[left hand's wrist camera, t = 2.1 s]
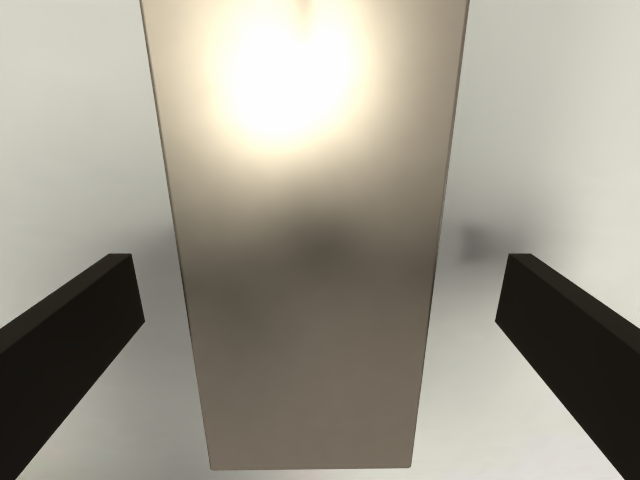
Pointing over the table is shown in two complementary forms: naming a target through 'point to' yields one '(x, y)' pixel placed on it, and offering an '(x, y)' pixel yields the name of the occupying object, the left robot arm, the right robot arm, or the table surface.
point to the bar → (307, 215)
